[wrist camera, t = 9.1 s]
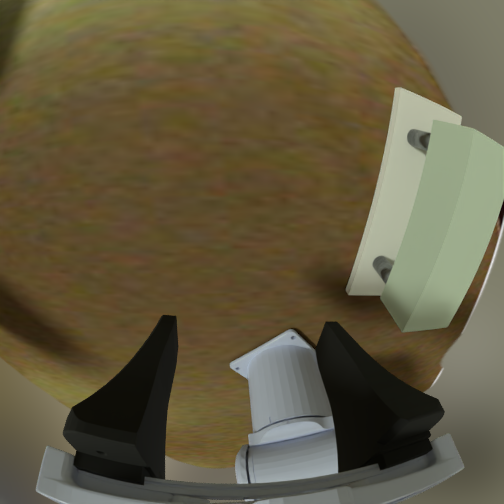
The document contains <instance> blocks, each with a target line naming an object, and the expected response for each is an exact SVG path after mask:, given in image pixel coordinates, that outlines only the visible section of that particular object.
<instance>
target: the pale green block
mask: <svg viewBox="0 0 504 504" xmlns="http://www.w3.org/2000/svg"><path fill="white" fill-rule="evenodd" d="M503 199H504V147H503V146H501V145H500V144H498V143H497V142H495V141H494V140H492V139H490V138H489V137H487V136H485V135H484V134H482V133H481V132H479V131H477V130H476V129H473V128H469V127H465V126H461V125H457V124H452V123H448V122H443V121H438V120H433V124H432V129H431V135H430V140H429V145H428V150H427V154H426V159H425V163H424V167H423V172H422V176H421V180H420V183H419V187H418V191H417V195H416V198H415V202H414V205H413V209H412V212H411V215H410V218H409V222H408V225H407V228H406V231H405V234H404V237H403V240H402V243H401V246H400V248H399V251H398V254H397V257H396V259H395V262H394V265H393V267H392V270H391V273H390V275H389V278H388V280H387V283H386V285H385V287H384V290H383V292H382V295H381V297H380V299H381V301H382V302H383V304H384V305H385V307H386V308H387V310H388V311H389V313H390V314H391V316H392V317H393V319H394V321H395V322H396V324H397V325H398V327H399V328H400V330H401V332H412V331H421V330H430V329H438V328H446V327H448V325H449V324H450V322H451V320H452V318H453V317H454V315H455V313H456V311H457V309H458V308H459V306H460V304H461V302H462V300H463V298H464V296H465V294H466V292H467V290H468V288H469V286H470V284H471V282H472V280H473V278H474V276H475V274H476V272H477V269H478V267H479V265H480V263H481V260H482V258H483V256H484V253H485V251H486V248H487V246H488V243H489V241H490V238H491V235H492V233H493V230H494V227H495V224H496V221H497V218H498V215H499V212H500V209H501V206H502V203H503Z"/></svg>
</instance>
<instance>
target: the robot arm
mask: <svg viewBox="0 0 504 504" xmlns="http://www.w3.org/2000/svg"><path fill="white" fill-rule="evenodd" d="M292 336H294V337H292ZM177 353H178V336H177V320H176V316H170V315H163V316H161V318H160V320H159V322H158V323H157V325H156V327H155V328H154V330H153V331H152V333H151V334H150V336H149V337H148V339H147V340H146V341H145V343H144V344H143V346H142V347H141V348H140V349H139V351H138V352H137V353H136V354H135V356H134V357H133V358H132V359H131V360H130V362H129V363H128V364H127V365H126V366H125V367H124V368H123V369H122V370H121V371H120V372H119V373H118V374H117V375H116V376H115V377H114V378H113V379H112V380H110V381H109V382H108V383H107V384H106V385H105V386H103V387H102V388H101V389H99V390H98V391H97V392H95V393H94V394H93V395H91V396H90V397H88V398H87V399H85V400H83V401H82V402H80V403H79V404H77V405H75V406H73V407H72V409H71V411H70V413H69V415H68V417H67V420H66V424H65V427H64V430H63V436H64V437H65V439H66V440H67V441H68V442H69V443H70V444H71V445H72V446H73V447H74V448H75V449H76V450H77V451H76V455H75V456H74V455H72V454H70V453H67V452H65V451H62V450H59V449H56V448H54V447H51V446H46V450H45V453H44V457H43V461H42V465H41V469H40V473H39V477H38V482H37V487H36V491H37V492H38V493H40V494H42V495H44V496H46V497H47V498H49V499H51V500H53V501H55V502H58V503H59V504H397V503H399V502H401V501H404V500H406V499H408V498H411V497H413V496H415V495H417V494H420V493H421V492H424V491H426V490H428V489H430V488H432V487H434V486H436V485H438V484H439V483H441V482H443V481H444V480H446V479H448V478H449V477H451V476H453V475H454V474H456V473H457V472H459V471H460V470H462V469H463V468H464V465H463V462H462V460H461V458H460V455H459V453H458V451H457V448H456V446H455V444H454V442H453V440H452V437H451V435H450V434H449V433H448V434H445V435H443V436H441V437H439V438H436V439H434V440H433V441H431V442H430V441H429V439H428V438H429V437H430V436H431V434H430V431H429V430H430V429H431V428H432V427H433V426H434V425H435V424H436V423H438V422H439V421H440V419H441V418H442V417H443V415H444V410H443V408H442V406H441V404H440V402H439V400H438V399H437V398H434V397H432V396H429V395H427V394H425V393H423V392H421V391H419V390H417V389H415V388H413V387H411V386H409V385H408V384H406V383H404V382H403V381H401V380H400V379H398V378H397V377H395V376H394V375H392V374H391V373H390V372H388V371H387V370H386V369H384V368H383V367H382V366H381V365H380V364H378V363H377V362H376V361H375V360H374V359H373V358H372V357H371V356H370V355H369V354H367V353H366V352H365V351H364V350H363V349H362V348H361V347H360V346H359V344H358V343H357V342H356V341H355V340H354V339H353V338H352V337H351V336H350V335H349V334H348V333H347V332H346V331H345V330H344V328H343V327H342V326H341V325H340V324H339V323H338V322H326V323H325V325H324V328H323V331H322V333H321V336H320V339H319V341H318V344H317V346H316V349H314V348H313V347H312V346H311V345H309V344H308V343H307V342H306V341H305V340H304V339H303V338H302V337H301V336H300V335H299V334H298V333H297V332H296V331H295V330H293V329H289V330H287V331H285V332H284V333H282V334H280V335H279V336H277V337H275V338H273V339H272V340H270V341H268V342H267V343H265V344H263V345H261V346H260V347H258V348H256V349H254V350H252V351H251V352H249V353H247V354H245V355H243V356H242V357H240V358H238V359H236V360H234V361H232V362H231V363H230V368H232V369H233V370H235V371H236V372H238V373H239V374H241V375H242V376H244V377H245V378H247V379H248V382H249V393H250V404H251V414H252V425H253V434H249V435H248V437H249V444H247V445H243V446H242V447H241V449H240V451H239V452H238V453H237V456H236V463H235V469H236V478H237V483H238V484H215V483H214V484H213V483H195V482H194V483H193V482H183V481H173V480H165V441H166V423H167V410H168V403H169V398H170V393H171V388H172V383H173V378H174V373H175V369H176V363H177ZM207 499H212V500H213V499H214V500H216V499H217V500H242V499H243V500H245V501H244V502H229V503H228V502H227V503H210V501H209V500H207Z"/></svg>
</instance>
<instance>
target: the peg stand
mask: <svg viewBox="0 0 504 504" xmlns="http://www.w3.org/2000/svg"><path fill="white" fill-rule="evenodd" d="M433 120H438V121H443V122H448V123H452V124H457V125H461V120H462V117H461V116H460V115H458V114H456V113H454V112H452V111H450V110H448V109H447V108H445V107H443V106H441V105H439V104H436V103H434V102H432V101H430V100H428V99H426V98H424V97H421V96H419V95H417V94H415V93H412V92H410V91H408V90H405V89H403V88H395V93H394V100H393V107H392V113H391V119H390V124H389V130H388V135H387V140H386V146H385V150H384V155H383V160H382V164H381V169H380V173H379V178H378V182H377V186H376V190H375V194H374V198H373V202H372V205H371V209H370V213H369V217H368V220H367V224H366V227H365V231H364V234H363V237H362V241H361V244H360V247H359V251H358V254H357V257H356V260H355V263H354V266H353V269H352V272H351V275H350V278H349V281H348V284H347V287H346V292H347V294H348V295H382V292H383V290H384V287H385V285H386V283H387V280H388V278H389V275H390V273H391V270H392V267H393V265H394V262H395V259H396V257H397V254H398V251H399V248H400V246H401V243H402V240H403V237H404V234H405V231H406V228H407V225H408V222H409V218H410V215H411V212H412V209H413V205H414V202H415V198H416V195H417V191H418V187H419V183H420V180H421V176H422V172H423V167H424V163H425V159H426V154H427V150H428V145H429V140H430V135H431V129H432V124H433Z"/></svg>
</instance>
